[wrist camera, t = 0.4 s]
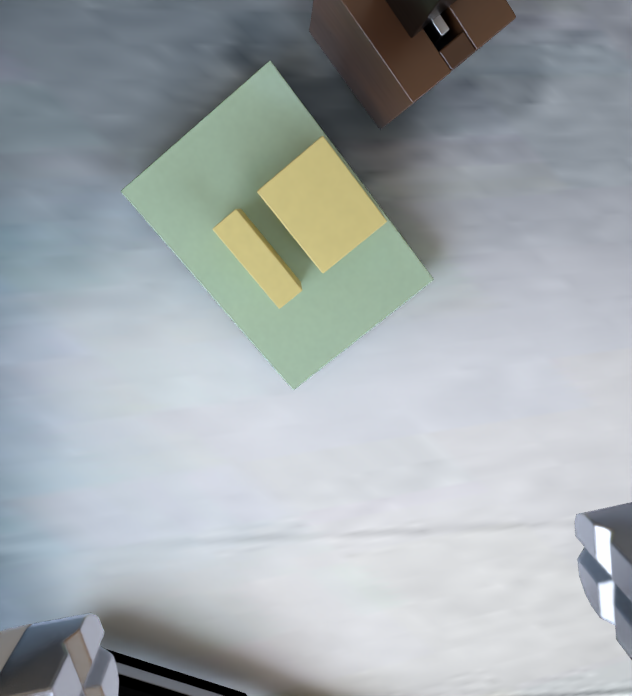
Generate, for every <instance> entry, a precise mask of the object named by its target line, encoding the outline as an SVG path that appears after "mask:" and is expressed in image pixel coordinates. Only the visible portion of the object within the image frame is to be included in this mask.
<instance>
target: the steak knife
mask: <svg viewBox="0 0 632 696" xmlns="http://www.w3.org/2000/svg"><path fill="white" fill-rule="evenodd" d="M106 650H107V649H106ZM107 651H109V652H110V653H112V654H113V657H114V660H115V662H116V665H117V671H118V677H119V690H118V696H247V695H246V693H243V692H240V691H237V690H234V689H230V688H227V687H224V686H221V685H218V684H215V683H211V682H208V681H205V680H202V679H199V678H196V677H192V676H189V675H186V674H183V673H180V672H177V671H173V670H170V669H167V668H164V667H161V666H158V665H154V664H151V663H148V662H145V661H142V660H139V659H135V658H132V657H129V656H126V655H123V654H120V653H117V652H113V651H110V650H107Z"/></svg>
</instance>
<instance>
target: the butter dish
mask: <svg viewBox="0 0 632 696" xmlns="http://www.w3.org/2000/svg"><path fill="white" fill-rule="evenodd" d="M321 136H324V137H325V139H326V140H327V141H328V143H329V144H330V145H331V147H332V148H333V149H334V151H335V152H336V153H337V155H338V156H339V157H340V159H341V160H342V161H343V163H344V164H345V165H346V167H347V168H348V169H349V171H350V172H351V173H352V175H353V176H354V177H355V179H356V180H357V181H358V183H359V184H360V185H361V187H362V188H363V189H364V191H365V192H366V193H367V195H368V196H369V197H370V199H371V200H372V201H373V203H374V204H375V205H376V207H377V208H378V209H379V211H380V212H381V213H382V215H383V216H384V217H385V219H386V220H387V222H386V223H385V224H384V225H383V226H381V227H380V228H379V229H378V230H377V231H375V232H374V233H373V234H372V235H370V236H369V237H368V238H367V239H365V240H364V241H363V242H362V243H360V244H359V245H358V246H357V247H356V248H354V249H353V250H352V251H351V252H349V253H348V254H347V255H346V256H344V257H343V258H342V259H341V260H340V261H338V262H337V263H336V264H335V265H333V266H332V267H331V268H330V269H328V270H327V271H326V272H325V273H322V272H321V271H320V270H319V269H318V268H317V266H316V265H315V264H314V263H313V261H312V260H311V259H310V258H309V256H308V255H307V254H306V253H305V251H304V250H303V249H302V248H301V246H300V245H299V244H298V243H297V241H296V240H295V239H294V238H293V236H292V235H291V234H290V233H289V231H288V230H287V229H286V228H285V226H284V225H283V224H282V223H281V221H280V220H279V219H278V218H277V216H276V215H275V214H274V213H273V211H272V210H271V209H270V208H269V206H268V205H267V204H266V203H265V201H264V200H263V199H262V198H261V196H260V195H259V194H258V193H257V190H259V189H260V188H261V187H262V186H263V185H264V184H266V183H267V182H268V181H269V180H270V179H272V178H273V177H274V176H275V175H276V174H277V173H279V172H280V171H281V170H282V169H283V168H285V167H286V166H287V165H288V164H289V163H290V162H292V161H293V160H294V159H295V158H296V157H298V156H299V155H300V154H301V153H302V152H303V151H305V150H306V149H307V148H308V147H309V146H311V145H312V144H313V143H314V142H315V141H316V140H318V139H319V138H320V137H321ZM121 193H122V194H123V195H124V196H125V197H126V198H127V200H128V201H129V202H130V203H131V204H132V205H133V206H134V208H135V209H136V210H137V211H138V212H139V213H140V215H141V216H142V217H143V218H144V219H145V220H146V221H147V223H148V224H149V225H150V226H151V227H152V228H153V230H154V231H155V232H156V233H157V234H158V235H159V236H160V238H161V239H162V240H163V241H164V242H165V243H166V245H167V246H168V247H169V248H170V249H171V250H172V251H173V253H174V254H175V255H176V256H177V257H178V258H179V259H180V261H181V262H182V263H183V264H184V265H185V266H186V268H187V269H188V270H189V271H190V272H191V273H192V274H193V276H194V277H195V278H196V279H197V280H198V281H199V283H200V284H201V285H202V286H203V287H204V288H205V289H206V291H207V292H208V293H209V294H210V295H211V296H212V298H213V299H214V300H215V301H216V302H217V303H218V304H219V306H220V307H221V308H222V309H223V310H224V311H225V313H226V314H227V315H228V316H229V317H230V318H231V319H232V321H233V322H234V323H235V324H236V325H237V326H238V328H239V329H240V330H241V331H242V332H243V333H244V334H245V336H246V337H247V338H248V339H249V340H250V341H251V343H252V344H253V345H254V346H255V347H256V348H257V349H258V351H259V352H260V353H261V354H262V355H263V356H264V358H265V359H266V360H267V361H268V362H269V363H270V364H271V366H272V367H273V368H274V369H275V370H276V371H277V372H278V374H279V375H280V376H281V377H282V378H283V379H284V381H285V382H286V383H287V384H288V385H289V386H290V387H291V389H292V390H295V389H296V388H297V387H299V386H300V385H301V384H302V383H304V382H305V381H306V380H307V379H309V378H310V377H311V376H313V375H314V374H315V373H316V372H318V371H319V370H320V369H321V368H323V367H324V366H325V365H326V364H328V363H329V362H330V361H332V360H333V359H334V358H335V357H337V356H338V355H339V354H340V353H342V352H343V351H344V350H346V349H347V348H348V347H349V346H351V345H352V344H353V343H354V342H356V341H357V340H358V339H360V338H361V337H362V336H363V335H365V334H366V333H367V332H368V331H370V330H371V329H372V328H373V327H375V326H376V325H377V324H379V323H380V322H381V321H382V320H384V319H385V318H386V317H387V316H389V315H390V314H391V313H393V312H394V311H395V310H396V309H398V308H399V307H400V306H401V305H403V304H404V303H405V302H407V301H408V300H409V299H410V298H412V297H413V296H414V295H415V294H417V293H418V292H419V291H420V290H422V289H423V288H424V287H426V286H427V285H428V284H429V283H431V282H432V281H433V280H434V279H433V277H432V276H431V275H430V273H429V272H428V271H427V269H426V268H425V266H424V265H423V264H422V262H421V261H420V260H419V258H418V257H417V256H416V254H415V253H414V252H413V250H412V249H411V248H410V246H409V245H408V244H407V242H406V241H405V240H404V238H403V237H402V236H401V234H400V233H399V232H398V230H397V229H396V228H395V226H394V225H393V224H392V222H391V221H390V220H389V218H388V217H387V216H386V214H385V213H384V212H383V210H382V209H381V208H380V206H379V205H378V204H377V202H376V201H375V200H374V198H373V197H372V196H371V194H370V193H369V192H368V190H367V189H366V188H365V186H364V185H363V184H362V182H361V181H360V180H359V178H358V177H357V176H356V174H355V173H354V172H353V170H352V169H351V168H350V166H349V165H348V164H347V162H346V161H345V160H344V158H343V157H342V156H341V154H340V153H339V152H338V150H337V149H336V147H335V146H334V145H333V143H332V142H331V141H330V139H329V138H328V137H327V135H326V134H325V133H324V131H323V130H322V129H321V127H320V126H319V125H318V123H317V122H316V121H315V119H314V118H313V117H312V115H311V114H310V113H309V111H308V110H307V109H306V107H305V106H304V105H303V103H302V102H301V101H300V99H299V98H298V97H297V95H296V94H295V93H294V91H293V90H292V89H291V87H290V86H289V85H288V83H287V82H286V81H285V79H284V78H283V77H282V75H281V74H280V73H279V71H278V70H277V69H276V67H275V66H274V65H273V63H272V62H271V61H268V62H267V63H266V64H265V65H264V66H263V67H262V68H261V69H259V70H258V71H257V72H256V73H255V74H254V75H253V76H251V77H250V78H249V79H248V80H247V81H246V82H245V83H243V84H242V85H241V86H240V87H239V88H238V89H237V90H235V91H234V92H233V93H232V94H231V95H230V96H229V97H227V98H226V99H225V100H224V101H223V102H222V103H221V104H219V105H218V106H217V107H216V108H215V109H214V110H213V111H211V112H210V113H209V114H208V115H207V116H206V117H205V118H203V119H202V120H201V121H200V122H199V123H198V124H197V125H196V126H194V127H193V128H192V129H191V130H190V131H189V132H188V133H186V134H185V135H184V136H183V137H182V138H181V139H180V140H178V141H177V142H176V143H175V144H174V145H173V146H172V147H170V148H169V149H168V150H167V151H166V152H165V153H164V154H162V155H161V156H160V157H159V158H158V159H157V160H156V161H154V162H153V163H152V164H151V165H150V166H149V167H148V168H146V169H145V170H144V171H143V172H142V173H141V174H140V175H138V176H137V177H136V178H135V179H134V180H133V181H132V182H131V183H129V184H128V185H127V186H126V187H125V188H124V189H123V190H121ZM235 209H242V210H243V212H244V213H245V214H246V215H247V217H248V218H249V219H250V220H251V221H252V223H253V224H254V225H255V226H256V228H257V229H258V230H259V231H260V233H261V234H262V235H263V236H264V237H265V239H266V240H267V241H268V242H269V244H270V245H271V246H272V247H273V248H274V250H275V251H276V252H277V253H278V255H279V256H280V257H281V258H282V259H283V261H284V262H285V263H286V264H287V266H288V267H289V268H290V269H291V271H292V272H293V273H294V274H295V275H296V277H297V278H298V279H299V280H300V282H301V285H302V291H301V292H300V293H299V294H298V295H296V296H295V297H294V298H293V299H291V300H290V301H289V302H288V303H287V304H285V305H284V306H283V307H282V308H280V309H279V308H278V307H277V306H276V305H275V303H274V302H273V301H272V300H271V299H270V298H269V296H268V295H267V294H266V293H265V292H264V290H263V289H262V288H261V287H260V286H259V284H258V283H257V282H256V281H255V280H254V278H253V277H252V276H251V275H250V274H249V272H248V271H247V270H246V269H245V268H244V267H243V265H242V264H241V263H240V262H239V261H238V259H237V258H236V257H235V256H234V255H233V253H232V252H231V251H230V250H229V249H228V247H227V246H226V245H225V244H224V243H223V241H222V240H221V239H220V238H219V237H218V235H217V234H216V233H215V232H214V231H213V228H214V227H215V226H216V225H217V224H218V223H220V222H221V221H222V220H223V219H224V218H225V217H227V216H228V215H229V214H230V213H231V212H233V211H234V210H235Z"/></svg>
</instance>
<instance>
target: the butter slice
mask: <svg viewBox="0 0 632 696" xmlns="http://www.w3.org/2000/svg"><path fill="white" fill-rule="evenodd" d="M213 231H214V232H215V233H216V234H217V235H218V237H219V238H220V239H221V240H222V241H223V243H224V244H225V245H226V246H227V247H228V249H229V250H230V251H231V252H232V253H233V255H234V256H235V257H236V258H237V259H238V261H239V262H240V263H241V264H242V265H243V267H244V268H245V269H246V270H247V271H248V272H249V274H250V275H251V276H252V277H253V278H254V280H255V281H256V282H257V283H258V284H259V286H260V287H261V288H262V289H263V290H264V292H265V293H266V294H267V295H268V296H269V298H270V299H271V300H272V301H273V302H274V303H275V305H276V306H277V307H278V308H279V309H280V308H282V307H283V306H284V305H285V304H287V303H288V302H289V301H290V300H291V299H293V298H294V297H295V296H296V295H298V294H299V293H300V292H301V291H302V285H301V282H300V280H299V279H298V278H297V277H296V275H295V274H294V273H293V272H292V271H291V269H290V268H289V267H288V266H287V264H286V263H285V262H284V261H283V259H282V258H281V257H280V256H279V255H278V253H277V252H276V251H275V250H274V248H273V247H272V246H271V245H270V244H269V242H268V241H267V240H266V239H265V237H264V236H263V235H262V234H261V233H260V231H259V230H258V229H257V228H256V226H255V225H254V224H253V223H252V221H251V220H250V219H249V218H248V217H247V215H246V214H245V213H244V212H243V210H242V209H235V210H234V211H233V212H231V213H230V214H229V215H228V216H227V217H225V218H224V219H223V220H222V221H221V222H220V223H218V224H217V225H216V226H215V227H214V228H213Z"/></svg>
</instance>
